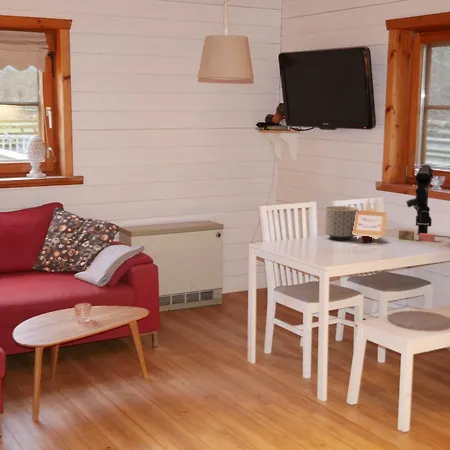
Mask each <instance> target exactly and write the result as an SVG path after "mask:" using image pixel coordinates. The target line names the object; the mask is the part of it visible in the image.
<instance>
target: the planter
mask: <svg viewBox="0 0 450 450" xmlns="http://www.w3.org/2000/svg"><path fill="white" fill-rule="evenodd" d="M356 211H358V212H359V208H358V207H354V206H345V205H336V206H335V205H334V206H333V205H332V206H327V207H325V218H324V219H325V220H324V234H325V235H327V236H329V237H330V238H331V239H333V240H337V241H338V240H339V241H346V240H350V239H352V238H353V237H355V236H357V235H353V234H352V231H353V226H354V221H355V215H356Z"/></svg>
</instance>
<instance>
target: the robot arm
mask: <svg viewBox="0 0 450 450" xmlns="http://www.w3.org/2000/svg"><path fill="white" fill-rule="evenodd" d="M433 179H434V169H433V168H432V167H431V165H429V164H422V165H421V166H420V168H419V169H418V172H417V173H416V175H415V181H414V183H415V184H414V185H415V186H416V187H417V188H416V189H415V195H416V196H415V198H414V197H413V198H412V199H409V200H406V205H407V207H408V208H411V207H413V208H414V210H416V215H415V226H417V233H416V235H417V236H419V234H420V233H426V234H429V233H428V232H429V231H428V230H429V229H428V228H429V227H432V221H433V219H432V218H431V216H430V215H431V214H430V212H431V211H430V207H429V206H428V205H429V204H428V203H429V190H430V189H429V188H430V187H429V186H430V185H431V183H432V181H433Z"/></svg>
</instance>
